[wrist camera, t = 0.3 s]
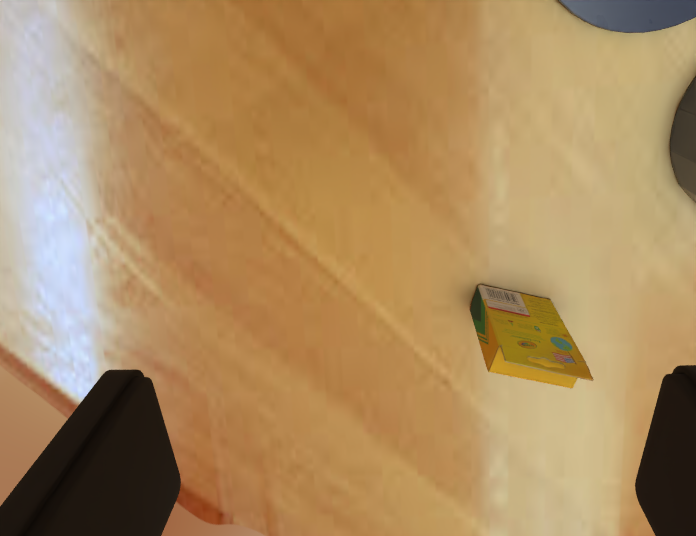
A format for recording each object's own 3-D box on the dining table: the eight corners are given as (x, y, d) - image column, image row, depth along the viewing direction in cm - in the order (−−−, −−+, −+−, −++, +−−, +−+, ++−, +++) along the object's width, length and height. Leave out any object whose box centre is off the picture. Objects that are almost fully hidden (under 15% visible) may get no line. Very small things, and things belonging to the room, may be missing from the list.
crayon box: (468, 308, 50) (489, 387, 40) (477, 282, 49) (502, 357, 38) (540, 324, 50) (580, 407, 40) (552, 299, 49) (596, 378, 39)
